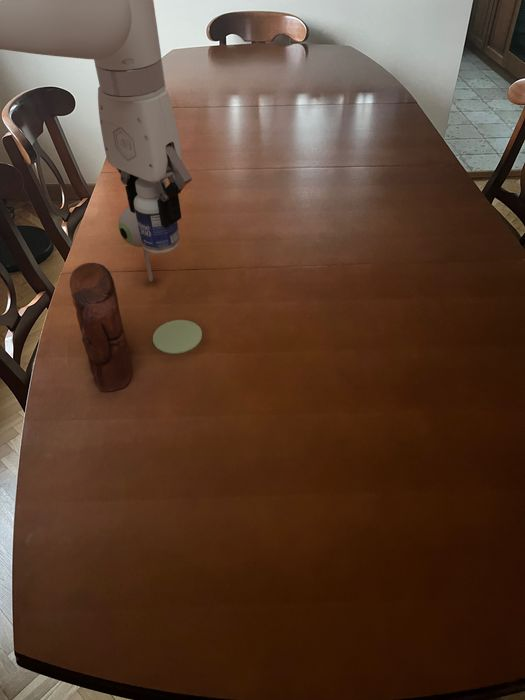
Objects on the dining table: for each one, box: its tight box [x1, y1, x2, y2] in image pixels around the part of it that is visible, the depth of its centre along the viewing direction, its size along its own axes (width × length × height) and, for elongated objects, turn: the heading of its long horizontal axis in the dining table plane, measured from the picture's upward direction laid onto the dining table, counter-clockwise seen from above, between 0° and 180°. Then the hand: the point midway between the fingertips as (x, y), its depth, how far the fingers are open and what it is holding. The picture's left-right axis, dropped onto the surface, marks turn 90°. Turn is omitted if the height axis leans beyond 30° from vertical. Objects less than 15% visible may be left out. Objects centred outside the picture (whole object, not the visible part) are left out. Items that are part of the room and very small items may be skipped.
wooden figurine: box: [69, 262, 133, 393], centre depth 85 cm, size 12×6×18 cm, turn 16°
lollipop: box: [117, 206, 154, 282], centre depth 102 cm, size 7×7×15 cm
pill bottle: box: [134, 178, 181, 255], centre depth 81 cm, size 5×5×10 cm
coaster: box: [152, 319, 203, 355], centre depth 96 cm, size 8×8×1 cm
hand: (155, 214), depth 80 cm, fingers closed on pill bottle, 5 cm apart
